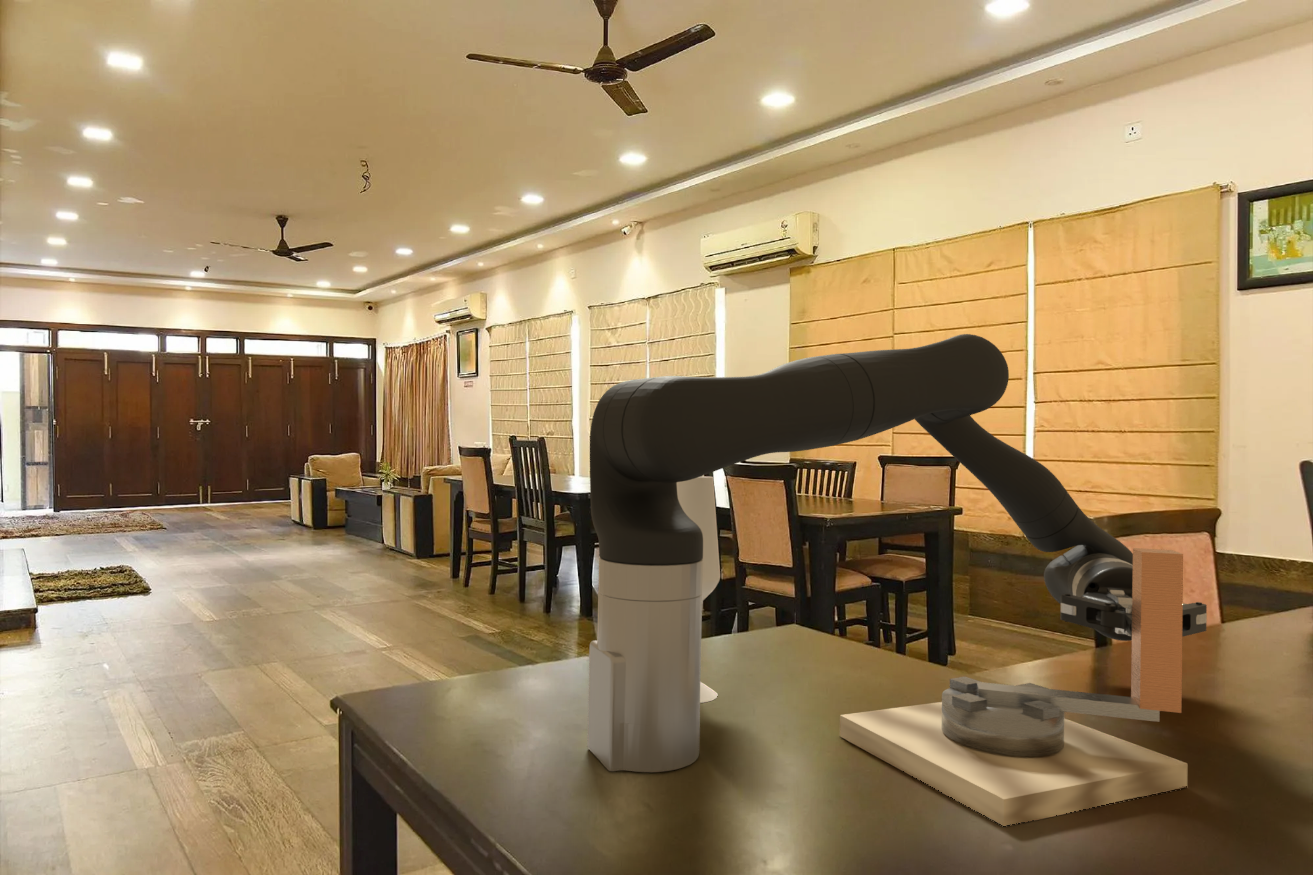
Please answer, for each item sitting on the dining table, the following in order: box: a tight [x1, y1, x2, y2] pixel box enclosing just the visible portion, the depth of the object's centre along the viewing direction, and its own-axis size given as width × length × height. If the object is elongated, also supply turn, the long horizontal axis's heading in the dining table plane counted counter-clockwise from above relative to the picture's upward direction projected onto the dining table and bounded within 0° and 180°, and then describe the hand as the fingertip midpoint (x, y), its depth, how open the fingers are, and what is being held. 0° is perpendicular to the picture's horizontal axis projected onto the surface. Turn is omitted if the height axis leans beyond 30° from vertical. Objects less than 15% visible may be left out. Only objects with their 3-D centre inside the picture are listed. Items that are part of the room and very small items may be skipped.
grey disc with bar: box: [941, 547, 1184, 756], centre depth 72 cm, size 18×10×17 cm, turn 72°
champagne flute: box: [677, 475, 721, 704], centre depth 91 cm, size 7×7×24 cm
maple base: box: [839, 701, 1189, 827], centre depth 73 cm, size 20×20×2 cm
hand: (1152, 632), depth 71 cm, fingers closed
